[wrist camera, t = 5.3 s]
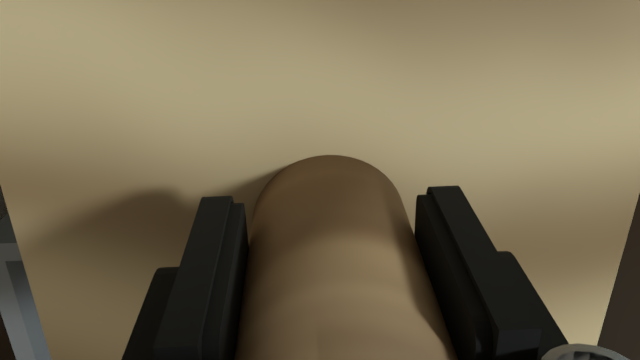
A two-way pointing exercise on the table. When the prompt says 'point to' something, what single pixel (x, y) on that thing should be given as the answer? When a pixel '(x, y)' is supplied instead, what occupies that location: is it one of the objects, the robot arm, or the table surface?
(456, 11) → the lid
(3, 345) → the table surface
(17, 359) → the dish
